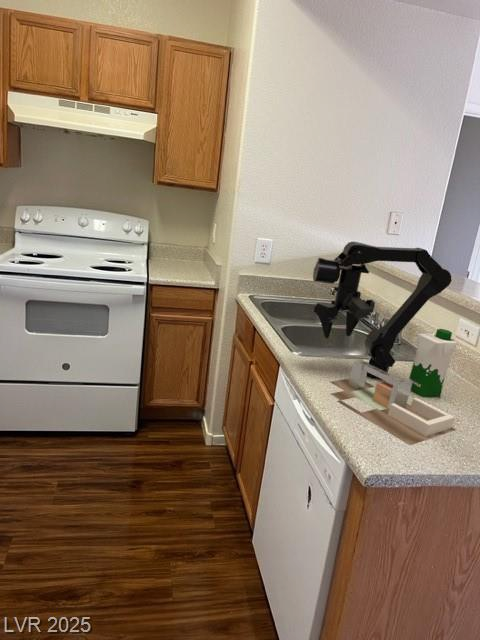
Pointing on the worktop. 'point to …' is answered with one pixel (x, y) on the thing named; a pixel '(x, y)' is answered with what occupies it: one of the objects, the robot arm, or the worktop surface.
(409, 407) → the board
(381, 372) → the grey bridge
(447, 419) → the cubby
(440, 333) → the milk carton
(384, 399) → the cube
